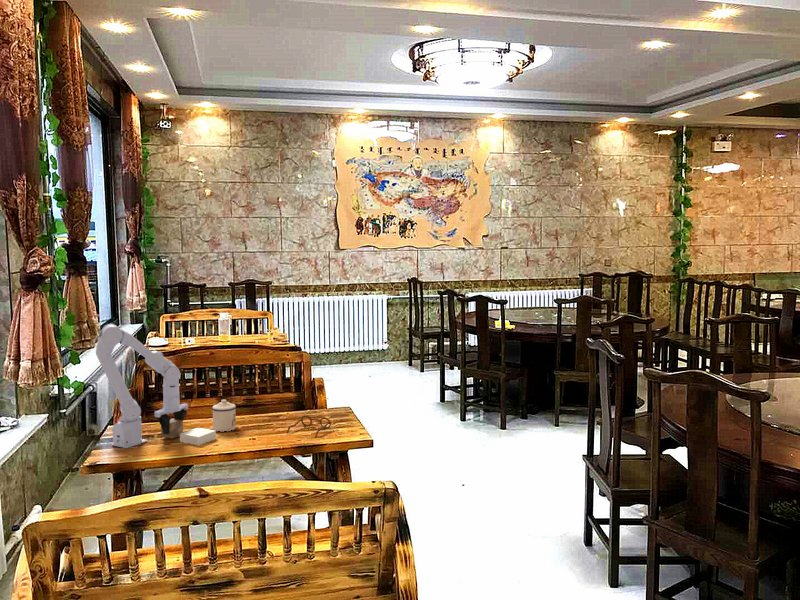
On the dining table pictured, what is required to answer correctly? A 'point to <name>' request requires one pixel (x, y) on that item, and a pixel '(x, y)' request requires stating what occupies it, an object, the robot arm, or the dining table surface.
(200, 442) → the cream block
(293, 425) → the glasses
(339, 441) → the dining table surface
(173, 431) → the walnut cube
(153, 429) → the dining table surface
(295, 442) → the dining table surface
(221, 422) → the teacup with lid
